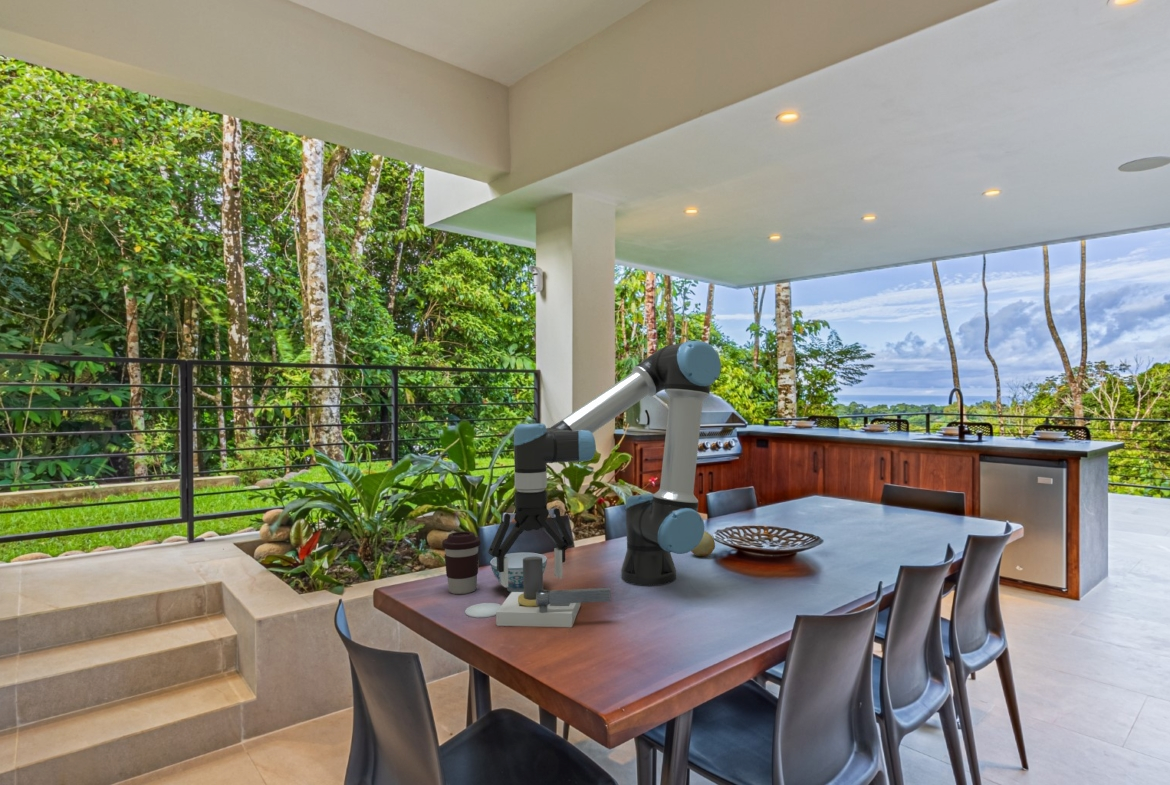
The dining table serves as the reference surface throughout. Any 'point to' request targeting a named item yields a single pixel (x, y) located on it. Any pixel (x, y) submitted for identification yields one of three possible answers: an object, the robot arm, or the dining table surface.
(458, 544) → the coffee cup
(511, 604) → the socket block
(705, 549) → the fruit
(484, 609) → the mat
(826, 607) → the dining table surface
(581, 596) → the grey lever handle
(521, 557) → the chinaware
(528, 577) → the plug
